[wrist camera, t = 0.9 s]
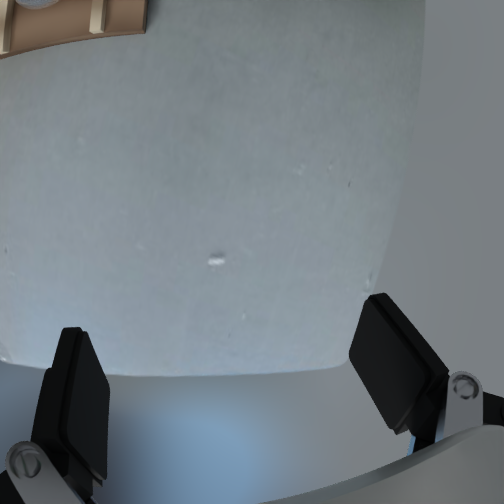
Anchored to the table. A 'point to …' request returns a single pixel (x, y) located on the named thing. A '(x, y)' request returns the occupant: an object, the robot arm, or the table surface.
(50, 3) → the steel ball
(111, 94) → the table surface
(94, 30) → the walnut board
